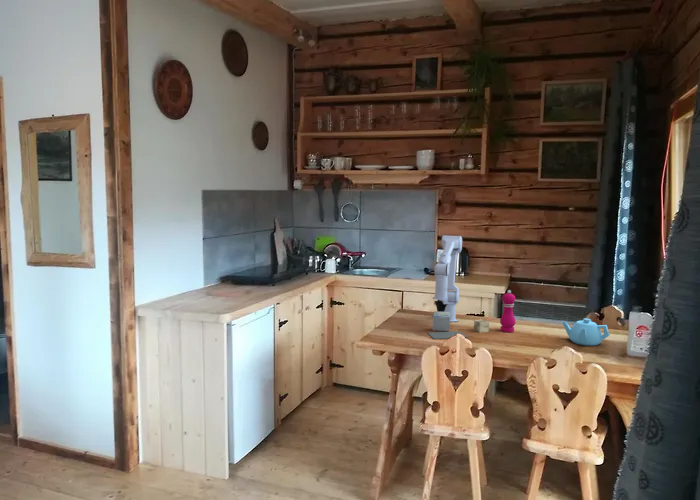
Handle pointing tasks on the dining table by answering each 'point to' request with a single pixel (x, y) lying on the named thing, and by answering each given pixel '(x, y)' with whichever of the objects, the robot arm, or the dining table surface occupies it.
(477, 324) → the beech block
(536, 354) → the dining table surface
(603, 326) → the teapot
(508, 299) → the pepper mill
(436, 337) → the mat
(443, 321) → the medicine box
